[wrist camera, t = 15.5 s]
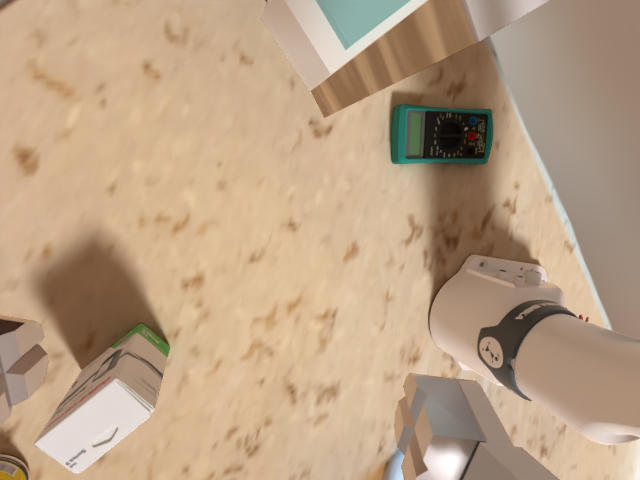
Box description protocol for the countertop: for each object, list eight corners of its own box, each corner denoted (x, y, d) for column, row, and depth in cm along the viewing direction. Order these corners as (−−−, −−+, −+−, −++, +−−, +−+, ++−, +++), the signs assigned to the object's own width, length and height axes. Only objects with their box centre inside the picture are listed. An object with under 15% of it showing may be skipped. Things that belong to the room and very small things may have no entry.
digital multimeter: (478, 164, 51) (494, 164, 48) (388, 164, 47) (399, 163, 44) (482, 112, 50) (499, 108, 47) (390, 106, 45) (402, 102, 42)
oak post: (324, 117, 42) (479, 41, 18) (291, 53, 40) (420, -137, 16) (426, 58, 45) (681, -78, 21) (401, -6, 43) (658, -246, 18)
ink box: (142, 320, 40) (116, 375, 29) (172, 347, 42) (159, 410, 31) (79, 370, 39) (27, 447, 28) (112, 397, 41) (76, 479, 30)
